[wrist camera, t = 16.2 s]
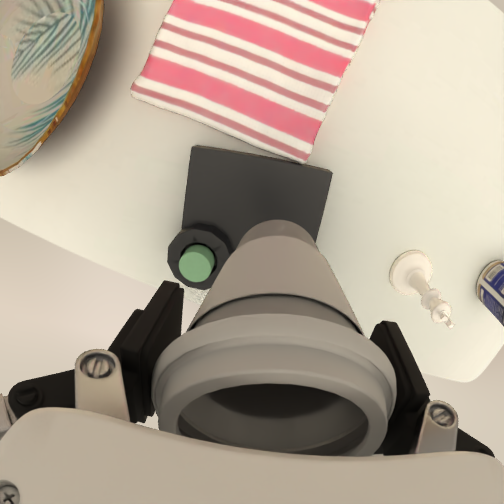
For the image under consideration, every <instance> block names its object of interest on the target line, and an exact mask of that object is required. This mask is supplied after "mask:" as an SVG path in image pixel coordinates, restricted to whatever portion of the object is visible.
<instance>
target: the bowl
mask: <svg viewBox="0 0 504 504" xmlns="http://www.w3.org/2000/svg"><path fill="white" fill-rule="evenodd" d="M103 10H104V0H0V176H4V175H6V174H8V173H10V172H11V171H13V170H15V169H17V168H19V167H20V166H21V165H22V164H23V163H24V162H25V161H26V160H27V159H29V158H30V157H31V156H32V155H33V154H34V153H35V152H36V151H37V150H38V149H39V148H40V147H41V146H42V144H43V143H44V142H45V141H46V139H47V138H48V137H49V136H50V135H51V133H52V132H53V131H54V130H55V129H56V127H57V126H58V125H59V124H60V122H61V121H62V120H63V118H64V117H65V115H66V114H67V112H68V110H69V109H70V107H71V106H72V104H73V103H74V101H75V100H76V98H77V96H78V94H79V92H80V90H81V88H82V86H83V84H84V82H85V80H86V78H87V75H88V72H89V70H90V67H91V64H92V62H93V59H94V56H95V54H96V50H97V46H98V42H99V38H100V34H101V30H102V20H103Z"/></svg>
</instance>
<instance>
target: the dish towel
mask: <svg viewBox="0 0 504 504" xmlns="http://www.w3.org/2000/svg"><path fill="white" fill-rule="evenodd" d="M379 3H380V0H174V1H173V3H172V5H171V7H170V9H169V11H168V13H167V14H166V16H165V18H164V20H163V23H162V25H161V27H160V29H159V31H158V33H157V36H156V38H155V42H154V44H153V46H152V49H151V51H150V54H149V57H148V60H147V62H146V64H145V66H144V69H143V71H142V72H141V74H140V75H139V76H138V77H137V79H136V80H135V81H134V82H133V84H132V86H131V91H132V94H131V95H132V97H133V98H136V99H138V100H142V101H145V102H147V103H149V104H152V105H154V106H157V107H159V108H163V109H166V110H169V111H172V112H175V113H178V114H181V115H184V116H186V117H189V118H191V119H193V120H196V121H199V122H201V123H203V124H205V125H208V126H210V127H212V128H215V129H217V130H219V131H221V132H223V133H226V134H228V135H230V136H233V137H235V138H238V139H240V140H242V141H244V142H247V143H249V144H251V145H252V146H255V147H258V148H260V149H263V150H266V151H268V152H271V153H274V154H277V155H280V156H283V157H286V158H289V159H291V160H294V161H296V162H298V163H299V164H305V163H306V162H307V159H308V157H309V156H310V154H311V152H312V149H313V144H314V140H315V137H316V135H317V132H318V130H319V128H320V126H321V123H322V122H323V121H324V117H325V115H326V111H327V109H328V107H329V106H330V104H331V102H332V100H333V97H334V95H335V93H336V91H337V87H338V86H339V84H340V82H341V80H342V77H343V73H344V71H346V70H347V68H348V67H349V66H350V62H351V60H352V59H353V57H354V56H355V54H356V52H357V50H358V46H359V44H360V43H361V41H362V39H363V35H364V33H365V30H366V27H367V25H368V23H369V21H370V20H371V19H372V18H373V16H374V13H375V10H376V9H377V7H378V5H379Z"/></svg>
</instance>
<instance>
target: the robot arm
mask: <svg viewBox="0 0 504 504" xmlns="http://www.w3.org/2000/svg"><path fill="white" fill-rule="evenodd" d="M179 287H180V286H179V283H174V282H170V281H165V280H164V281H163V283H162V284H161V286H160V287H159V289H158V290H157V291H156V293H155V295H154V296H153V297H152V299H151V301H150V302H149V303H148V305H147V307H146V308H145V309H144V310H140V309H136V310H135V311H134V312H133V313H132V315H131V316H130V318H129V319H128V321H127V322H126V324H125V325H124V326H123V328H122V329H121V331H120V332H119V334H118V335H117V337H116V338H115V340H114V341H113V343H112V344H111V346H110V347H109V349H108V350H104V349H93V350H89V351H86V352H84V353H82V354H81V355H80V356H79V357H78V358H77V360H76V363H75V369H73V370H69V371H65V372H61V373H56V374H52V375H48V376H43V377H39V378H35V379H31V380H26V381H22V382H19V383H17V384H16V385H14V386H13V387H12V389H11V390H10V392H9V394H8V396H4V397H3V396H2V394H0V504H504V466H503V465H502V463H501V462H500V461H499V460H497V459H496V458H495V456H494V454H493V452H492V451H491V450H490V449H489V448H488V447H487V446H485V445H484V444H482V443H481V442H479V441H478V440H476V439H475V438H473V437H471V436H470V435H468V434H467V433H465V432H464V431H462V430H461V429H459V428H458V415H457V413H456V411H455V410H454V408H453V407H451V406H450V405H449V404H448V403H446V402H443V401H440V400H434V401H431V402H430V399H429V395H430V393H429V390H428V388H427V386H426V383H425V381H424V379H423V377H422V375H421V372H420V370H419V368H418V366H417V364H416V362H415V359H414V357H413V355H412V353H411V351H410V349H409V347H408V345H407V343H406V341H405V339H404V337H403V335H402V333H401V331H400V329H399V327H398V325H397V323H396V322H390V321H382V322H381V323H380V324H377V325H376V326H375V328H374V330H373V332H372V335H371V337H370V339H369V340H371V341H372V342H373V343H374V344H375V345H377V346H378V347H379V348H380V349H381V350H382V351H383V352H384V354H385V355H386V356H387V358H388V359H389V361H390V363H391V365H392V367H393V369H394V372H395V376H396V390H397V395H396V401H395V406H394V410H393V413H392V415H391V417H390V419H389V421H388V426H387V432H386V436H385V438H384V440H383V442H382V443H381V445H380V447H379V448H378V449H377V450H376V451H375V452H374V454H373V455H372V456H367V457H347V456H317V455H301V454H289V453H279V452H270V451H262V450H254V449H247V448H241V447H235V446H229V445H223V444H218V443H212V442H207V441H202V440H198V439H193V438H189V437H185V436H180V435H176V434H172V433H168V432H164V431H160V430H156V429H152V428H149V427H145V426H142V425H138V424H135V423H137V422H142V423H145V421H146V418H147V416H151V417H152V416H153V415H154V412H155V408H154V404H153V401H152V398H151V380H152V373H153V369H154V366H155V364H156V361H157V359H158V358H159V356H160V355H161V353H162V352H163V351H164V350H165V349H166V348H167V347H168V346H169V345H170V344H171V343H172V342H173V341H174V340H176V339H177V338H178V337H180V336H181V324H182V309H183V297H184V289H183V288H179Z"/></svg>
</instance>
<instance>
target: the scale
mask: <svg viewBox="0 0 504 504" xmlns="http://www.w3.org/2000/svg"><path fill="white" fill-rule="evenodd" d="M332 174H333V173H332V172H331V171H330V170H328V169H323V168H319V167H315V166H310V165H306V164H299V163H296V162H292V161H287V160H282V159H277V158H272V157H266V156H261V155H255V154H250V153H244V152H238V151H232V150H226V149H220V148H213V147H206V146H199V145H197V146H193V147H192V149H191V156H190V163H189V170H188V178H187V186H186V194H185V203H184V212H183V221H182V230H181V231H180V232H179V233H178V235H177V236H176V237H175V238H174V240H173V241H172V242H171V244H170V245H169V247H168V260H167V262H168V264H169V267H170V269H171V271H172V273H173V275H174V276H175V278H177V279H178V280H179V281H181V282H182V283H183V284H185V285H186V286H188V287H191V288H196V289H201V290H206V289H209V288H211V287H212V285H213V283H214V282H215V280H216V278H217V276H218V275H219V273H220V271H221V269H222V268H223V266H224V264H225V262H226V261H227V260H228V258H229V257H230V256H231V254H232V253H233V252H235V250H236V249H237V247H238V245H239V243H240V241H241V239H242V238H243V236H244V235H245V234H246V233H247V232H248V231H249V230H250V229H251V228H252V227H254V226H256V225H257V224H259V223H262V222H265V221H269V220H286V221H290V222H293V223H295V224H297V225H299V226H301V227H302V228H303V229H305V230H306V231H307V232H308V233H309V234H310V236H311V237H312V238H313V240H314V242H315V243H316V239H317V235H318V231H319V227H320V223H321V219H322V215H323V211H324V207H325V203H326V199H327V195H328V191H329V187H330V182H331V178H332ZM193 245H203V246H205V247H207V248H209V249H210V250H211V252H212V253H213V255H214V258H215V263H214V266H213V268H212V271H211V273H210V275H209V277H208V278H207V279H205V280H204V281H201V282H193V281H190V280H188V279H186V278H185V277H184V276H183V275H182V274H181V272H180V269H179V261H180V259H181V257H182V256H183V254H184V253H185V251H186V250H187V249H188V248H189V247H190V246H193Z"/></svg>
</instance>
